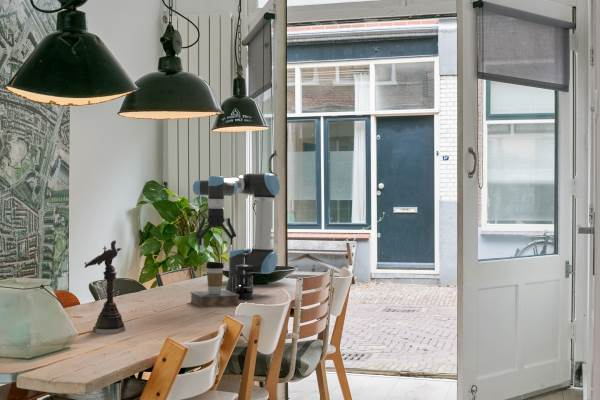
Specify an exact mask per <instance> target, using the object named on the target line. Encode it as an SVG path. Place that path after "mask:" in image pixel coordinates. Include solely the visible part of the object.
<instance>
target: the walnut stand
mask: <svg viewBox="0 0 600 400" xmlns="http://www.w3.org/2000/svg"><path fill="white" fill-rule="evenodd" d="M189 293H190V295H191V296H190V301H191V303H192V304H194V305H196V306H198V307H200V308H213V307H214V308H217V307H235V306H237V305H238V306H239V300H238V296H240V295H238V294H235V293H233V292H230V291H228V290H226V289H225V290H222V289H221V294H209V293H208V290H202V291H201V290H200V291H190V292H189ZM238 306H237V307H238Z"/></svg>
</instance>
